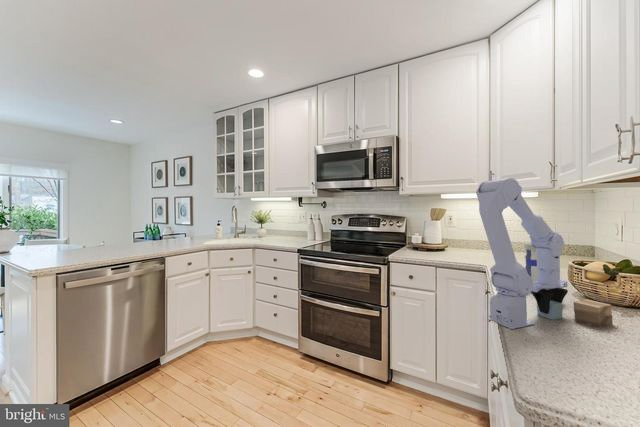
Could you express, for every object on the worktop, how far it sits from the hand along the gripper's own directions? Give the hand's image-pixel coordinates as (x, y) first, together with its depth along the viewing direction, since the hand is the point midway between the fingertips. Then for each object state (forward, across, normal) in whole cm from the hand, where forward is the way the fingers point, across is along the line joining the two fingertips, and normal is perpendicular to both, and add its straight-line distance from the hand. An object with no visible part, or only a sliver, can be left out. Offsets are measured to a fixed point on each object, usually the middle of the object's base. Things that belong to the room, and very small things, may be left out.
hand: (549, 311), depth 89 cm
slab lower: (+2, +6, -8) cm, 10 cm away
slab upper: (-1, +6, -8) cm, 10 cm away
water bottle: (+2, +28, +23) cm, 36 cm away
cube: (+1, 0, 0) cm, 1 cm away
